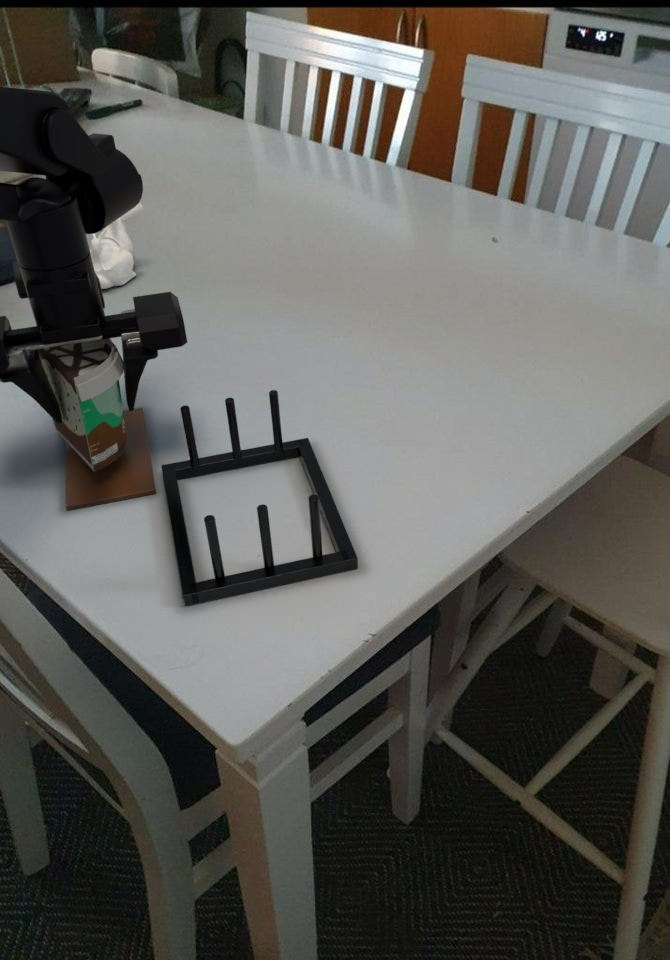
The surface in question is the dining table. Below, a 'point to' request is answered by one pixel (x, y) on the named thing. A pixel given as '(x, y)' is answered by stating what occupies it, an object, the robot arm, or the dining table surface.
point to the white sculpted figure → (114, 252)
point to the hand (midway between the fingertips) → (96, 414)
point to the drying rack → (249, 457)
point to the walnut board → (112, 470)
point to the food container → (88, 398)
